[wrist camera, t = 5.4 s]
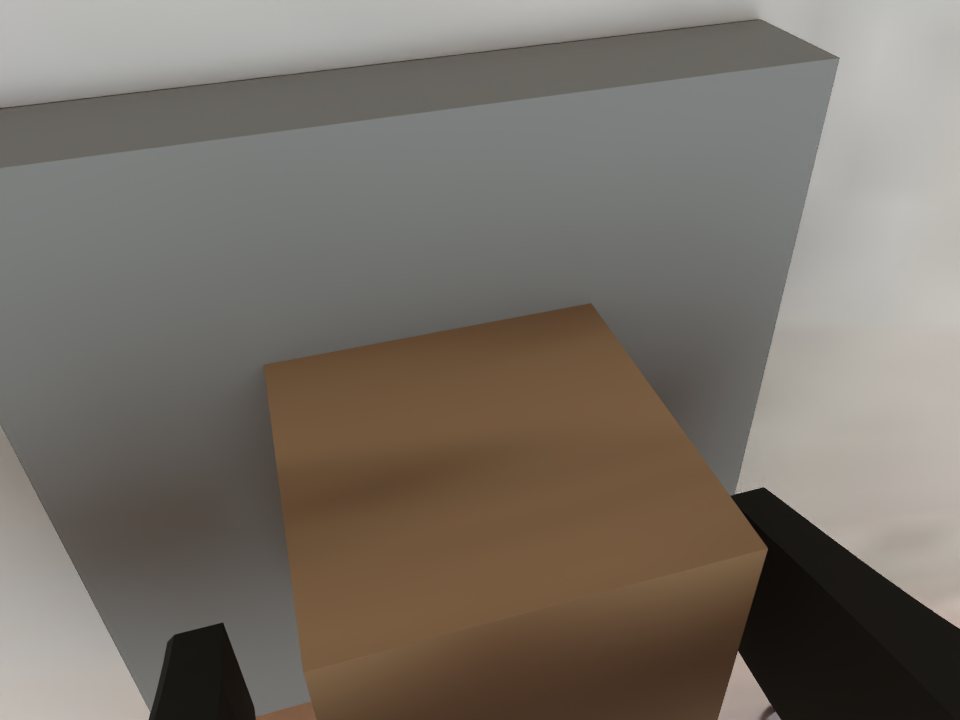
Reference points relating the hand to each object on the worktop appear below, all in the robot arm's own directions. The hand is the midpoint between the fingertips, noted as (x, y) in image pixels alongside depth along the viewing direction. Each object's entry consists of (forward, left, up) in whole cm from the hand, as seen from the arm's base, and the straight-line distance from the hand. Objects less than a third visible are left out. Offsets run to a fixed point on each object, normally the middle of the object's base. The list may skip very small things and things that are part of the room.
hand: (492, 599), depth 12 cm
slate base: (0, 0, -5) cm, 5 cm away
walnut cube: (0, 0, -3) cm, 3 cm away
